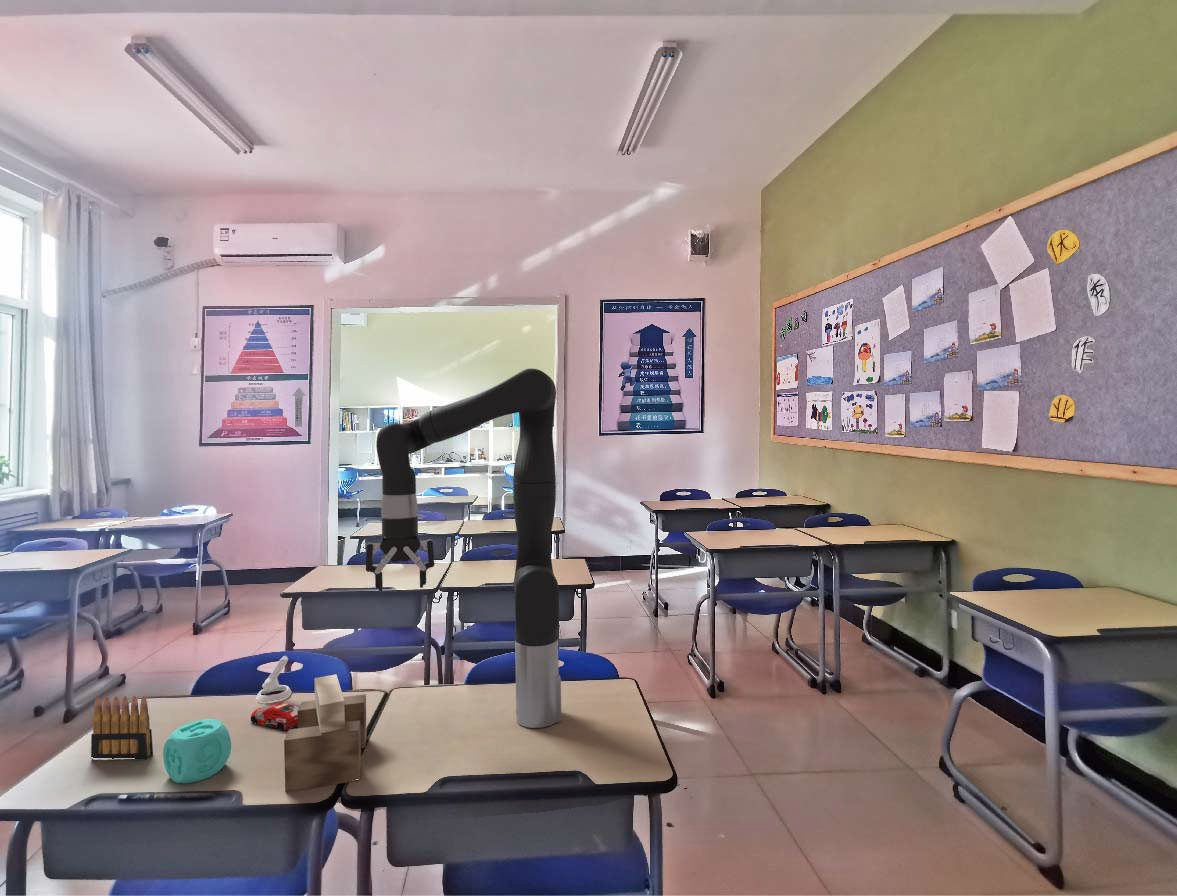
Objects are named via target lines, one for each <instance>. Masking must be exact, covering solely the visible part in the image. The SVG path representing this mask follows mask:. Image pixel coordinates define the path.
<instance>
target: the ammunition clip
mask: <svg viewBox="0 0 1177 896" xmlns="http://www.w3.org/2000/svg"><path fill="white" fill-rule="evenodd" d="M112 701H113V702H112V706H111V701H110V698H109V696H105V698H104V701H103V703H102V701H101V697H99V696H96V698H95V701H94V706H93V718H92V733H91V738H90V739H91V742H90V745H91V746H90V758H91V757H93V758H112V759H114V758H135V759H146V760H148V759H149V758H150V756H151V757H152V756H153V755H154V750H153V749H154V747H153V745H154V744H153V734H152V733H153V732H152V728H150V727H151V726H150V724H151V723H150V722H151V721H150V715H149V706H148V700H147V698H146V696H145V695H142V697H141V700H140V705H139V702H138V698H137V696H136V695H133V697H132V700H131V704H130V702H129V699H128V697H127V696H126V695H124V696H123V698H122V701H121V703H120V699H119V697H118V696H117V695H115V697H114V698H113V700H112ZM102 704H103V705H102ZM129 704H130V705H129ZM148 757H149V758H148ZM147 758H148V759H147Z"/></svg>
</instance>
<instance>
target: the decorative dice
mask: <svg viewBox="0 0 1177 896" xmlns="http://www.w3.org/2000/svg"><path fill="white" fill-rule="evenodd" d="M231 753H232V741H231V736H230V733H229V731H228V729H227V727H226V725H225V724H224V723H223V721H220V720H218V719H213V718H211V719H210V718H209V719H208V718H207V719H200V720H194V721H192V722H188V723H186V724H183V725H181V726H179V727H178V728H175V729H174V731H172V733H171V734H170V735H169V737H168V738H167V739H166V741H165V743H164V745H163V749H162V758H163V764H164V768H165V772H166V773H167V775H168V777H169V778H170V780H172V782H174V783H177V784H192V782H193V783H197V782H200V781H201V782H202V781H204V780H206V779H210V778H211V777H213V776H214V775H216V774H217V773H219V772H220V771H221V770H222V768H224V766H225V765H226V763H227V762H228V760H229V758H230V755H231Z"/></svg>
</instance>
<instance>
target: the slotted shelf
mask: <svg viewBox="0 0 1177 896" xmlns="http://www.w3.org/2000/svg"><path fill="white" fill-rule="evenodd" d="M343 698H344V710H345V728H344V729H339V730H335V731H330V732H326V733H320V728H319V722H318V717H317V712H316V706H315V699H314V700H305V701H301V702H300V704H299V707H298V708H299V709H298V726H297V728H292V729H288V730H287V733H286V735H285V738H284V740H283V744H284V745H283V748H284V749H283V750H284V789H285V790H284V792H285V793H287V792H295V791H301V790H306V789H307V790H308V789H313V788H320V787H324V786H325V787H326V786H333V785H338V784H340V785H341V784H345V783H352V782H351V781H352V780H356V779H359V780H360V778H361V773H360V772H361V771H362V749H365V748H366V744H367V739H368V737H367V736H368V735H367V733H368V732H367V694H358V695H347V696H343ZM359 777H360V778H359Z"/></svg>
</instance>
